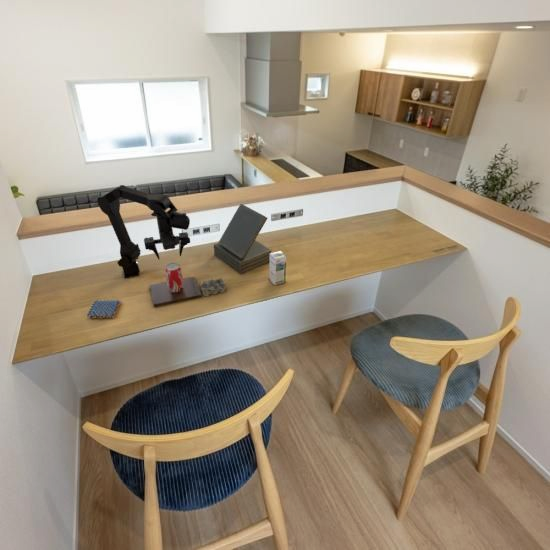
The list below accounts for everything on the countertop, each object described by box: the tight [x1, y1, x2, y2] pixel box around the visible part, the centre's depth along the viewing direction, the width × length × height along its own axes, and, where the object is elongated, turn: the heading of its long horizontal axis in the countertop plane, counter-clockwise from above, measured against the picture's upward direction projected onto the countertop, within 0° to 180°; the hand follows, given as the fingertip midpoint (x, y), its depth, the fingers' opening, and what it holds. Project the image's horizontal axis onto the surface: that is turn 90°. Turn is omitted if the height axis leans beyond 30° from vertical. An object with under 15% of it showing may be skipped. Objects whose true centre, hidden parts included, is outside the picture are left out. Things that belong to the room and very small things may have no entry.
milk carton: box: [269, 250, 287, 286], centre depth 166 cm, size 6×6×14 cm
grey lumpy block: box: [199, 277, 227, 297], centre depth 162 cm, size 11×8×4 cm
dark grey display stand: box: [213, 203, 272, 275], centre depth 180 cm, size 23×20×25 cm
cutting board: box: [149, 276, 202, 308], centre depth 160 cm, size 20×15×2 cm
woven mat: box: [86, 299, 121, 320], centre depth 149 cm, size 10×11×2 cm
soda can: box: [164, 262, 184, 292], centre depth 157 cm, size 7×7×12 cm
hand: (169, 257), depth 161 cm, fingers open, 9 cm apart
